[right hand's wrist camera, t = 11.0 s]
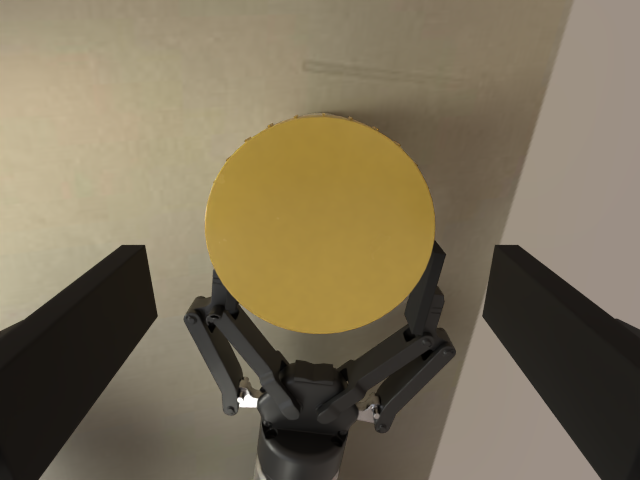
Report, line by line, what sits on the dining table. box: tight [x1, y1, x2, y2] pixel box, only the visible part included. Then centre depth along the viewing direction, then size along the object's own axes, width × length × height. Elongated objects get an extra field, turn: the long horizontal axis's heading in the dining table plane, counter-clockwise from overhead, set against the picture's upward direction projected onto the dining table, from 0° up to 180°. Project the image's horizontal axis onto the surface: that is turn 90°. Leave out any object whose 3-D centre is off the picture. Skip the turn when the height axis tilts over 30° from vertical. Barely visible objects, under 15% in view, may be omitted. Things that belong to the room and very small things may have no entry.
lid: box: [205, 113, 435, 334], centre depth 18 cm, size 10×10×2 cm
